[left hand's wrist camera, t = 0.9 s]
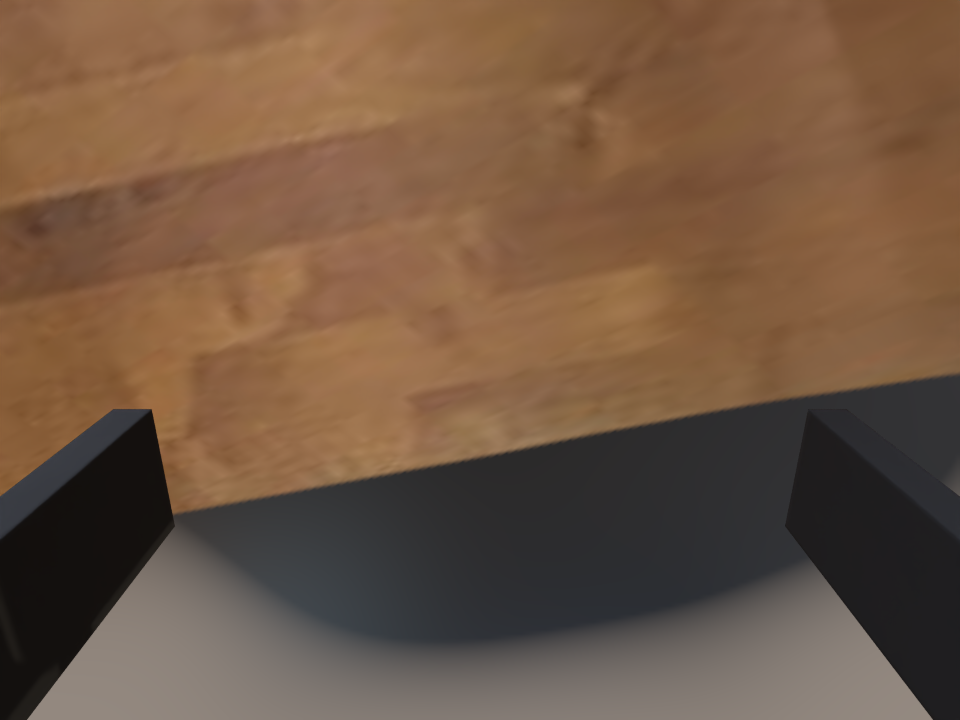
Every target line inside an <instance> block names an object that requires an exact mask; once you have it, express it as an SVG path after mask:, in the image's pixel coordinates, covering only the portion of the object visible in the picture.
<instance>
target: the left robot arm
mask: <svg viewBox="0 0 960 720" xmlns="http://www.w3.org/2000/svg"><path fill="white" fill-rule="evenodd" d="M785 526H786V528H787V529H788V530H789V532H790V533H791V534H792V536H793V537H794V538H795V540H796V541H797V542H798V544H799V545H800V546H801V547H802V549H803V550H804V551H805V553H806V554H807V555H808V557H809V558H810V559H811V561H812V562H813V563H814V564H815V566H816V567H817V568H818V570H819V571H820V572H821V574H822V575H823V576H824V578H825V579H826V580H827V582H828V583H829V584H830V585H831V587H832V588H833V589H834V591H835V592H836V593H837V595H838V596H839V597H840V598H841V600H842V601H843V602H844V604H845V605H846V606H847V608H848V609H849V610H850V612H851V613H852V614H853V616H854V617H855V618H856V619H857V621H858V622H859V623H860V625H861V626H862V627H863V629H864V630H865V631H866V633H867V634H868V635H869V636H870V638H871V639H872V640H873V642H874V643H875V644H876V646H877V647H878V648H879V650H880V651H881V652H882V653H883V655H884V656H885V657H886V659H887V660H888V661H889V663H890V664H891V665H892V667H893V668H894V669H895V670H896V672H897V673H898V674H899V676H900V677H901V678H902V680H903V681H904V682H905V684H906V685H907V686H908V688H909V689H910V690H911V691H912V693H913V694H914V695H915V697H916V698H917V699H918V701H919V702H920V703H921V705H922V706H923V707H924V708H925V710H926V711H927V712H928V714H929V715H930V716H931V718H932V719H933V720H960V496H958V495H957V494H956V493H954V492H953V491H952V490H951V489H949V488H948V487H947V486H945V485H944V484H943V483H942V482H940V481H939V480H938V479H936V478H935V477H934V476H932V475H931V474H930V473H929V472H927V471H926V470H925V469H923V468H922V467H921V466H919V465H918V464H917V463H916V462H914V461H913V460H912V459H910V458H909V457H908V456H906V455H905V454H904V453H903V452H901V451H900V450H899V449H897V448H896V447H895V446H894V445H892V444H891V443H890V442H888V441H887V440H886V439H884V438H883V437H882V436H881V435H879V434H878V433H877V432H875V431H874V430H873V429H871V428H870V427H869V426H868V425H866V424H865V423H864V422H862V421H861V420H860V419H859V418H857V417H856V416H855V415H853V414H852V413H851V412H849V411H848V410H847V409H808V414H807V419H806V424H805V429H804V434H803V439H802V444H801V449H800V454H799V459H798V464H797V469H796V474H795V479H794V485H793V490H792V494H791V499H790V504H789V509H788V515H787V520H786V525H785ZM174 527H175V525H174V520H173V515H172V509H171V504H170V499H169V494H168V489H167V484H166V479H165V474H164V469H163V464H162V459H161V454H160V449H159V444H158V439H157V434H156V429H155V424H154V419H153V414H152V409H113V410H112V411H111V412H109V413H108V414H107V415H105V416H104V417H103V418H101V419H100V420H99V421H98V422H96V423H95V424H94V425H92V426H91V427H90V428H88V429H87V430H86V431H85V432H83V433H82V434H81V435H79V436H78V437H77V438H76V439H74V440H73V441H72V442H70V443H69V444H68V445H66V446H65V447H64V448H63V449H61V450H60V451H59V452H57V453H56V454H55V455H53V456H52V457H51V458H50V459H48V460H47V461H46V462H44V463H43V464H42V465H41V466H39V467H38V468H37V469H35V470H34V471H33V472H31V473H30V474H29V475H28V476H26V477H25V478H24V479H22V480H21V481H20V482H18V483H17V484H16V485H15V486H13V487H12V488H11V489H9V490H8V491H7V492H5V493H4V494H3V495H2V496H0V720H27V719H28V718H29V716H30V715H31V714H32V712H33V711H34V710H35V708H36V707H37V706H38V704H39V703H40V702H41V701H42V699H43V698H44V697H45V695H46V694H47V693H48V691H49V690H50V689H51V688H52V686H53V685H54V684H55V682H56V681H57V680H58V678H59V677H60V676H61V674H62V673H63V672H64V671H65V669H66V668H67V667H68V665H69V664H70V663H71V661H72V660H73V659H74V657H75V656H76V655H77V653H78V652H79V651H80V650H81V648H82V647H83V646H84V644H85V643H86V642H87V640H88V639H89V638H90V636H91V635H92V634H93V633H94V631H95V630H96V629H97V627H98V626H99V625H100V623H101V622H102V621H103V619H104V618H105V617H106V615H107V614H108V613H109V612H110V610H111V609H112V608H113V606H114V605H115V604H116V602H117V601H118V600H119V598H120V597H121V596H122V595H123V593H124V592H125V591H126V589H127V588H128V587H129V585H130V584H131V583H132V582H133V580H134V579H135V578H136V576H137V575H138V574H139V572H140V571H141V570H142V568H143V567H144V566H145V564H146V563H147V562H148V561H149V559H150V558H151V557H152V555H153V554H154V553H155V551H156V550H157V549H158V547H159V546H160V545H161V543H162V542H163V541H164V540H165V538H166V537H167V536H168V534H169V533H170V532H171V530H172V529H173V528H174Z"/></svg>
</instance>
